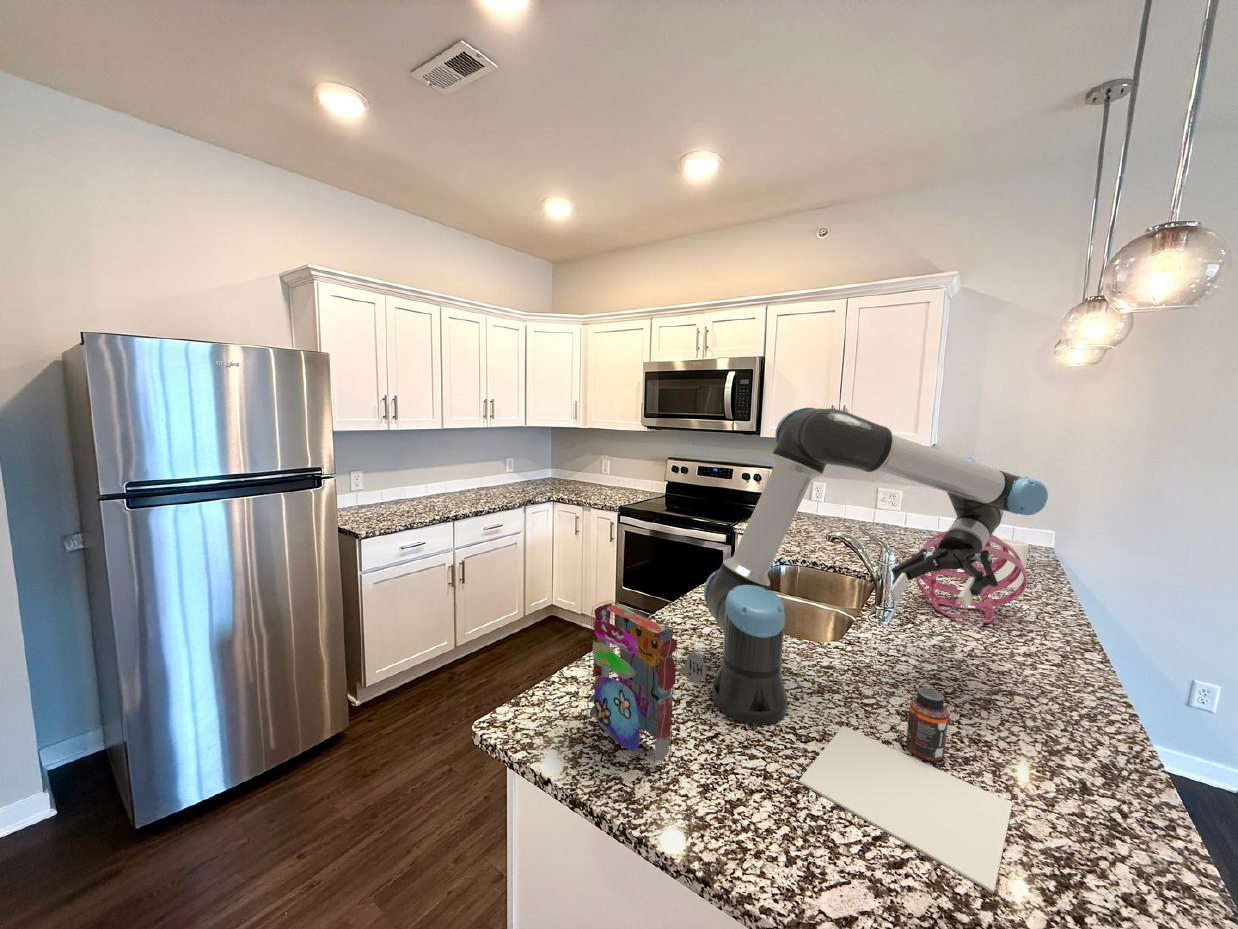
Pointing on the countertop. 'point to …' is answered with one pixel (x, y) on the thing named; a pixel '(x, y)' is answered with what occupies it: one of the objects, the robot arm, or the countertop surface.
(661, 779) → the countertop surface
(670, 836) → the countertop surface
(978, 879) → the mat
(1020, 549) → the cup
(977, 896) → the countertop surface
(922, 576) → the spiral basket
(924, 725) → the supplement bottle
